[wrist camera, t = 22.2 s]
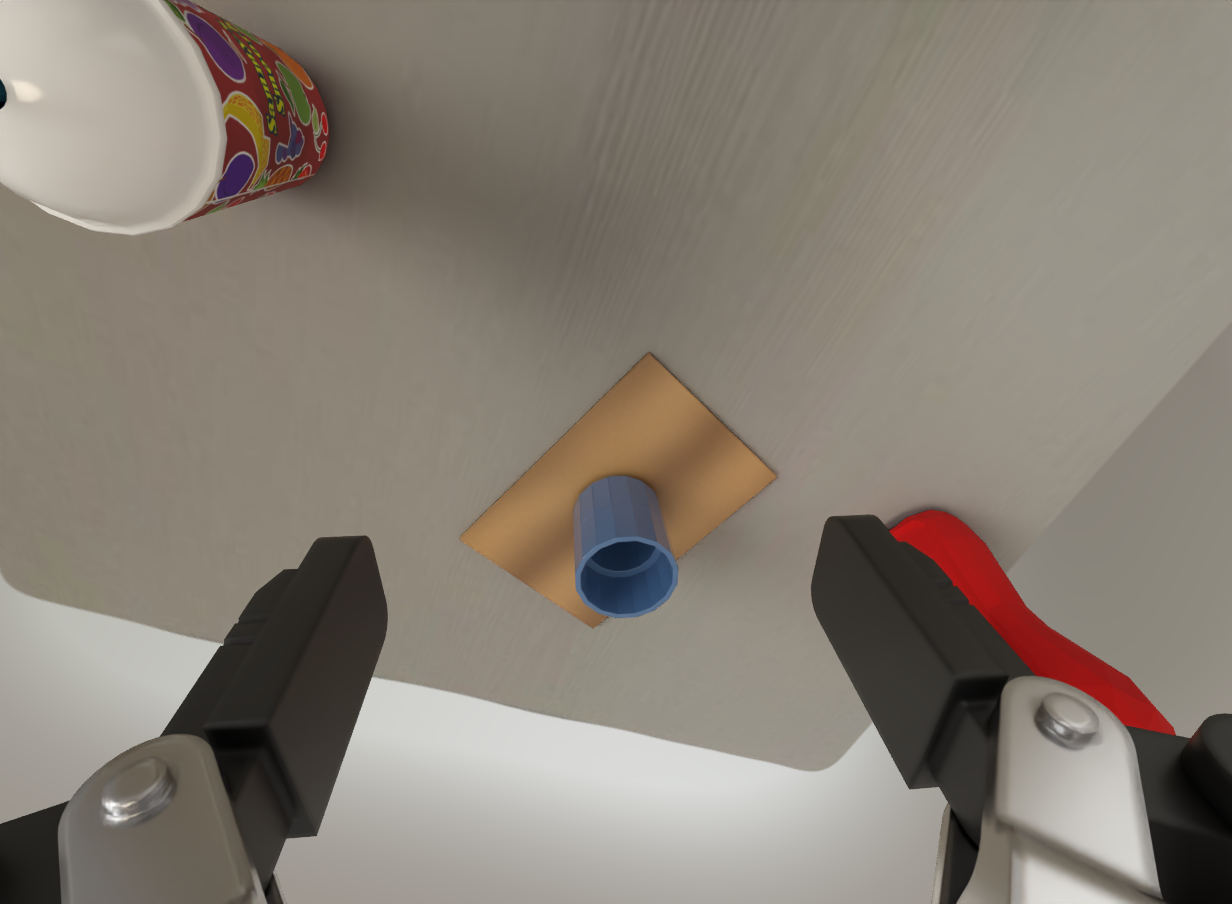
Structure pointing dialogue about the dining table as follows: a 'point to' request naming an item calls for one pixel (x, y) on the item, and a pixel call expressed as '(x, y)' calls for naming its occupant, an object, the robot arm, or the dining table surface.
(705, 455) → the mat
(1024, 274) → the dining table surface
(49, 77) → the smoothie
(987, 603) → the water bottle
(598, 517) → the blue plastic tumbler
